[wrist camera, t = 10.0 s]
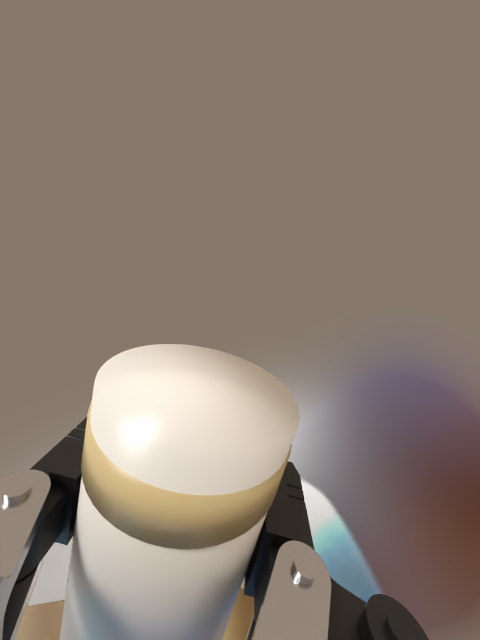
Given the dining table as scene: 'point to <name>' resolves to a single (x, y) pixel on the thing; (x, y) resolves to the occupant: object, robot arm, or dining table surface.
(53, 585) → the dining table surface
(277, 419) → the cylinder
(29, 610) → the board
